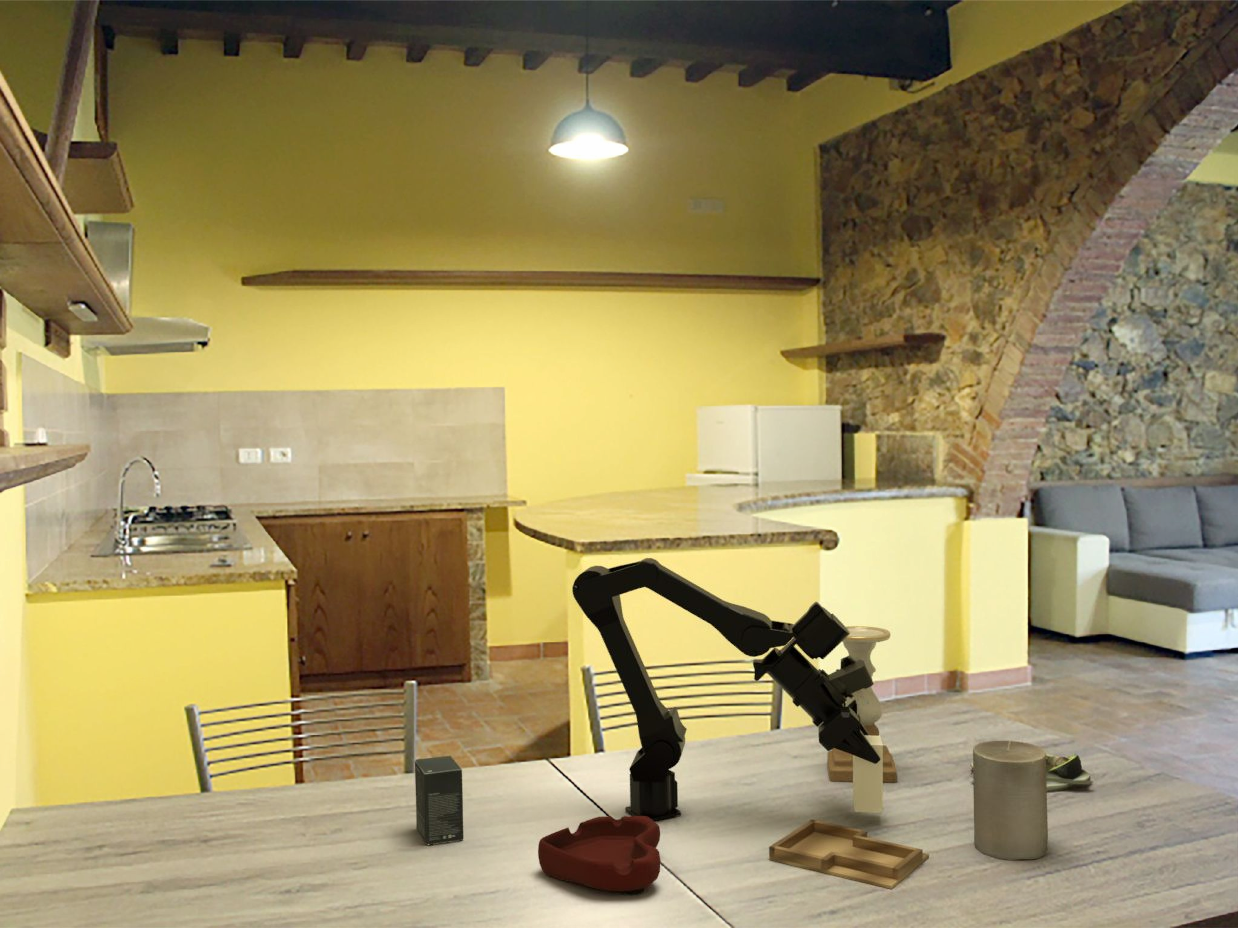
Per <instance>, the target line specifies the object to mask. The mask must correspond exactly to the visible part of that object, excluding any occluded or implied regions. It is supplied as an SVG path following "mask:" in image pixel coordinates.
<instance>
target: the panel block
mask: <svg viewBox="0 0 1238 928" xmlns="http://www.w3.org/2000/svg"><path fill="white" fill-rule="evenodd" d="M864 736H865V737H866V738H867V740H868V741H869V743H870V744H871V745H872V747H873V748H874V750H875V751H876V752H877V754H878V755H879V757H880V761H879V762H878V763H877V764H874V763H872V762H869V761H867V760H864V759H862V758H859V757H857V756H854V755H853V782H852V804H853V810H854V812H855V813H874V814H875V813H876V814H883V813H884V811H883V810H884V806H883V805H884V802H883V801H884V800H883V799H884V798H883V797H884V793H883V789H884V788H883V787H884V786H883V785H884V784H883V745H884V744H883V742H882V738H881V735H879V736H870V735H864Z"/></svg>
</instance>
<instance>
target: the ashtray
mask: <svg viewBox="0 0 1238 928" xmlns="http://www.w3.org/2000/svg"><path fill="white" fill-rule="evenodd" d="M660 838H661V828H660V825H659V824H658V823H656V822H655V821H653V820H652V819H650V818H649V817H647V816H633V815H631V816H630V815H628V816H622V817H621V818H619V819H615V818H613V817H612V816H597V817H593V818H590V819H587V820H585V821H582V822H580V823H579V825H578V826H577V828H576V831H574V832H571V830H570V828H569V827H565V828H563V829H560V830H558V831H554V832H552V833H550V834H548V835H545V836H543V837H542V838H540V839H539V842H538V847H537V856H538V863H539V865H540V868H541V871H542V872H543V873H544V874H546V875H547V876H549V877H552V878H554V879H558V880H562V881H566V882H571V883H576V884H580V885H583V886H586V887H589V888H592V889H595V890H600V891H607V892H622V894H624V895H628V896H637V895H641V894H643V893H644V892H645V890H646V888H648V887H650V886H651V885H652V884H653V883H654V882H655V881H656V880H657V879H658V878H659V875H660V872H661V856H660V851H659V849H658V848H657V847H658V845H659V843H660V840H661V839H660Z"/></svg>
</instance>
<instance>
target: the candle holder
mask: <svg viewBox="0 0 1238 928" xmlns="http://www.w3.org/2000/svg"><path fill="white" fill-rule="evenodd" d="M845 627H846V628H847V629H848V631H849V632H850V634H849V635H848V636H847V637H846V638H845V639H844V640H843V641H842V642H841V643H842V644H843V647H844V648H845V649H846V650H847V653H848V656H851V657H852V658H853V659H854V660H856V661H857V662H858V660H863V661H864V663H865V665H866V667H867V669H868V671H869V673H870V675H871V677H873V676H874V673H875V672H876V671H877V669H876V667H875V666H874V665H873V663H872V660H871V654H872V652H873V650H875V647H876V645H877V643H882V642H885V641H888V640H889V639H890V638H891V631H889V630H888V629H885V628H882V627H881V628H880V627H874V626H862V625H861V626H858V625H856V626H855V625H854V626H851V625H850V626H845ZM853 694H854V696H853V697H852V698H850V697H847V698H846V699H847V701H846V702H845V703H846V704H847V705H849V704H850V703H851V702H852V701H853V700H855V699H856V702H857V716H858V715H860V720H861V723H862V724H863V726H864V727H865V729H866V730H867V732H868V734H869V735H870V736H880V730H879V727H877V725H876V724H875V723H877V722H879V721H880V719H881V718H882V716H883V712H884V711H883V705H882V703H881V701H880V700H879V698H878V696H877V695H876V693H875V692H874V690H873V688H872V686H871V687H869V688H867V689H864V688H863V689H861V690H858V691H856V692H854V693H853ZM889 750H890V749H889V748H888V746H887V745H885V744H883V783H885V784H887V783H890V784H892V783H897V782H898V772H897V767H896V763H895V759H894V758H893V755H892V754H891V753H890V751H889ZM826 758H827V759H826V760H827V771H828V772H827V773H828V779H829V781H830V782H839V783H840V782H842V783H843V782H845V783H846V782H847V783H853V755H852V754H849V753H846V752H844V751H841V750H838V749H835V748H834V749H832V750H830V751H827V757H826Z"/></svg>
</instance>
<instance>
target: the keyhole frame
mask: <svg viewBox="0 0 1238 928" xmlns="http://www.w3.org/2000/svg"><path fill="white" fill-rule="evenodd" d="M768 853H769V858H768V859H769V860H770V861H773V862H777V863H781V864H787V865H789V866H794V867H799V868H803V869H806V870H809V871H815V872H819V873H823V874H828V875H832V876H836V877H839V878H840V877H841V878H844V879H848V880H851V881H857V882H860V883H864V884H869V885H873V886H876V887H881V888H885V889H889V890H892V889H893V888H895V887H896V886H897V885H898V884H899V883H901V882H902V881H903V880H904V879H905V878H906V877H909V875H910V874H911V873H912V872H914V871H915V870H916V869H917V868H918V867H920V866H921V865H922V864H923V863H924V862H926V861H927V860H928V859H929V858H930V854H928V853H924V851H923V849H922V848H919V847H918V848H917V847H913V846H908V845H903V844H899V843H893V842H890V841H884V840H880V839H876V838H871V837H868V831H867V830H863V829H858V828H854V827H849V826H846V825H845V826H844V825H839V824H835V823H830V822H827V821H826V822H825V821H821V820H815V819H810V820H809V821H807V822H806V823H804V824H802V825H801V826H799V827H798V828H796V829H795V830H793V831H792V832H790V833H789V834H787V835H785V836H784V837H782V838H781V839H779V840H777V841H776V842H774V843H772V844H771V845H770V846H768Z"/></svg>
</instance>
